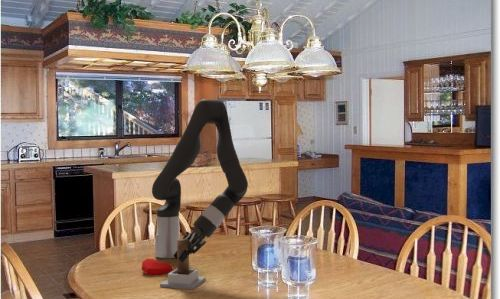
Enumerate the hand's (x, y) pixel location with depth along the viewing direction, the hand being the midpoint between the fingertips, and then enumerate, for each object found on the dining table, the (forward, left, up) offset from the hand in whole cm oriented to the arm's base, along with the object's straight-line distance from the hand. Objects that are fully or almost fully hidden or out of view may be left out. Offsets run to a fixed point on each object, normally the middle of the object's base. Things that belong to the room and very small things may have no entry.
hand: (177, 258), depth 189 cm
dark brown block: (+1, +1, -6) cm, 6 cm away
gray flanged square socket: (+1, +1, -9) cm, 9 cm away
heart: (-15, +11, -9) cm, 21 cm away
